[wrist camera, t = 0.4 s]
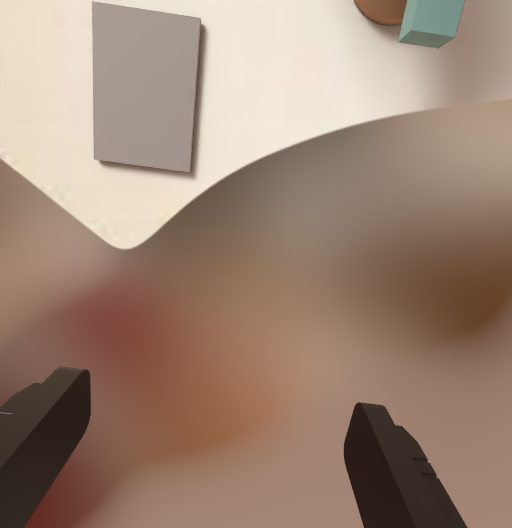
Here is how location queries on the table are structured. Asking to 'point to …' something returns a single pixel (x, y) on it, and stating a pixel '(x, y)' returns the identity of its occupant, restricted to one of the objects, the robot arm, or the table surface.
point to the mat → (144, 86)
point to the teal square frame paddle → (430, 22)
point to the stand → (383, 10)
